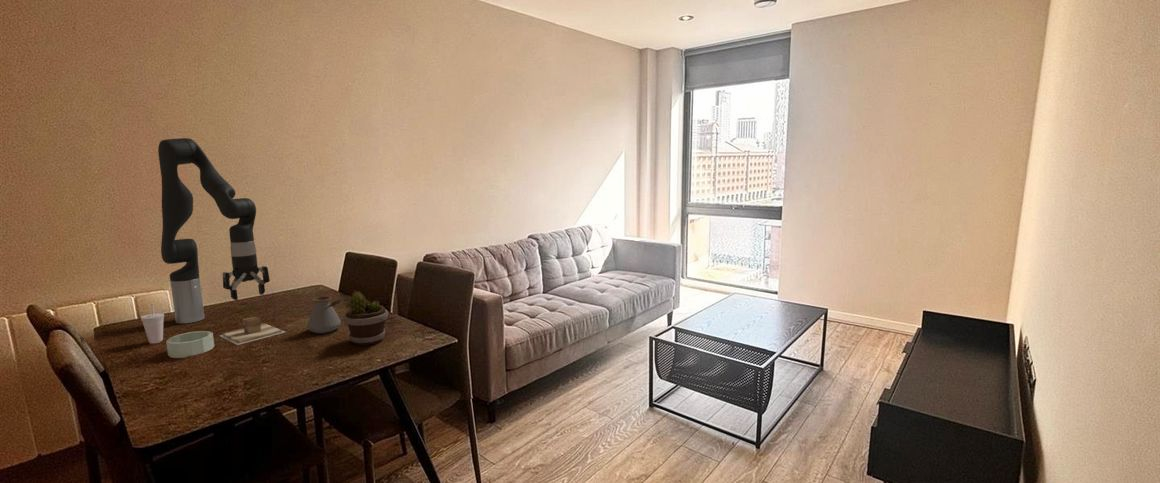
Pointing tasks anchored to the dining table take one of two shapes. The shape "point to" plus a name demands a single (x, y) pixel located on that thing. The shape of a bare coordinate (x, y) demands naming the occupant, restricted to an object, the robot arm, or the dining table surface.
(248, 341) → the tray
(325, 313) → the coffee pot
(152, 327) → the smoothie
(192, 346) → the bowl
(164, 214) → the robot arm
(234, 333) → the lid
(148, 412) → the dining table surface
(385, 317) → the flowerpot
